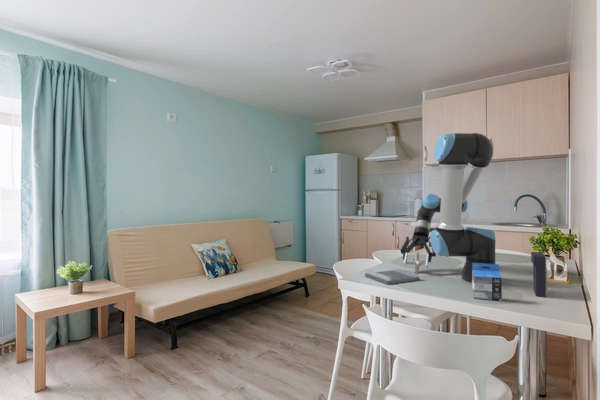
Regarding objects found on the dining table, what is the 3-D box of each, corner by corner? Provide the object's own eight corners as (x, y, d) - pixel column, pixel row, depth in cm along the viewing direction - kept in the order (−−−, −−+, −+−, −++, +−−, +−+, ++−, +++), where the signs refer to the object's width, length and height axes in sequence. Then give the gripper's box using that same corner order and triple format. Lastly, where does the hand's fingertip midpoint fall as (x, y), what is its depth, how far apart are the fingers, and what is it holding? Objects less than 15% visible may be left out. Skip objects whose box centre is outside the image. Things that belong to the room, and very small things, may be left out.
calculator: (548, 297, 118) (548, 256, 118) (533, 296, 120) (533, 255, 120) (545, 290, 127) (544, 252, 127) (531, 289, 129) (531, 251, 130)
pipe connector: (424, 270, 165) (424, 250, 165) (430, 275, 155) (430, 254, 155) (404, 270, 166) (404, 250, 166) (409, 274, 156) (409, 254, 156)
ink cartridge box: (473, 298, 117) (473, 264, 118) (472, 295, 121) (471, 262, 121) (502, 301, 114) (501, 266, 114) (499, 298, 118) (499, 264, 118)
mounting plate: (419, 280, 145) (419, 273, 145) (386, 284, 138) (386, 277, 138) (395, 272, 160) (395, 266, 160) (364, 276, 153) (364, 270, 153)
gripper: (445, 236, 168) (440, 272, 154) (401, 234, 179) (394, 267, 166) (443, 226, 163) (439, 263, 150) (399, 225, 175) (391, 259, 161)
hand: (415, 265), depth 158 cm, fingers closed on pipe connector, 9 cm apart
